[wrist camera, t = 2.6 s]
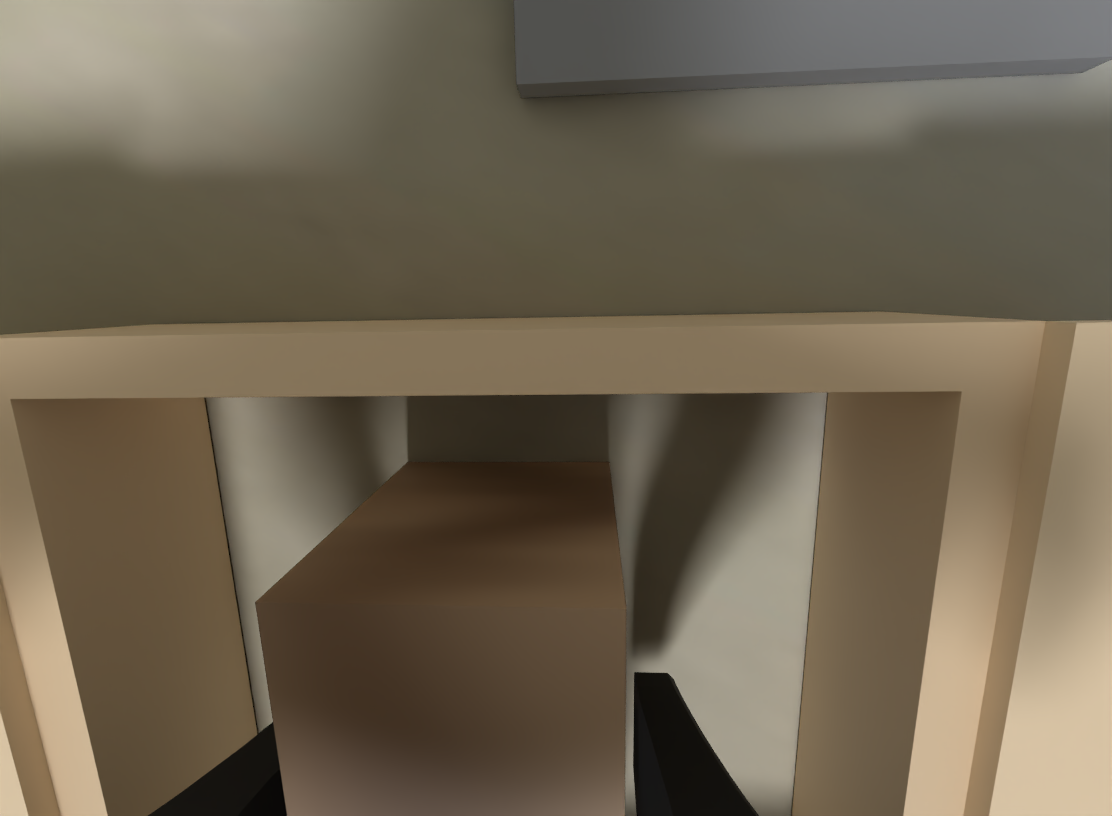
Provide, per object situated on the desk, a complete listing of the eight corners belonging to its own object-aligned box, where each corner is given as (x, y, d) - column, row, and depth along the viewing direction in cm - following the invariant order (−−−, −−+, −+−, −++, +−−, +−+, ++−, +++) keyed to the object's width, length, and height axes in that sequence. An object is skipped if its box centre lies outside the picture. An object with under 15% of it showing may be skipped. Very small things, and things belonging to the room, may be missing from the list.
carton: (1148, 306, 9) (1541, 315, 5) (1014, 959, 12) (1207, 1259, 8) (-57, 328, 11) (-417, 346, 7) (90, 904, 14) (-104, 1140, 10)
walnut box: (614, 461, 10) (638, 620, 5) (613, 837, 12) (630, 1221, 7) (402, 462, 11) (235, 612, 6) (433, 830, 13) (327, 1193, 7)
